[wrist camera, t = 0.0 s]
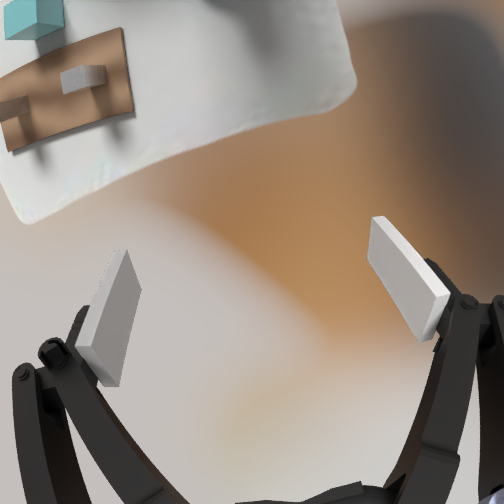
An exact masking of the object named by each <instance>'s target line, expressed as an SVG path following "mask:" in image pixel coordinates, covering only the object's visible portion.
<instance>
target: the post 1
mask: <svg viewBox="0 0 504 504" xmlns="http://www.w3.org/2000/svg"><path fill="white" fill-rule="evenodd" d="M27 112H30V108H29V103H28V98H27V95H25V96H21V97H18V98H14V99H11V100H7V101H4V102H0V124H1V123H3V122H6V121H8V120H11V119H13V118H16V117H19V116H21V115H23V114H25V113H27Z"/></svg>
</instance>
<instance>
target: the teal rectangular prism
mask: <svg viewBox="0 0 504 504" xmlns="http://www.w3.org/2000/svg"><path fill="white" fill-rule="evenodd" d="M62 27H64V16H63V1H62V0H14V1H12V2H10V3H9V4H7V5H6V6H4V29H5V40H36V39H38V38H40V37H43V36H45V35H47V34H49V33H51V32H53V31H56V30H58V29H60V28H62Z"/></svg>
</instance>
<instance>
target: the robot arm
mask: <svg viewBox="0 0 504 504" xmlns="http://www.w3.org/2000/svg"><path fill="white" fill-rule="evenodd" d="M367 260H368V262H369V263H370V265H371V266H372V268H373V269H374V271H375V272H376V273H377V275H378V277H379V278H380V280H381V282H382V283H383V285H384V286H385V288H386V289H387V291H388V293H389V294H390V296H391V297H392V299H393V301H394V302H395V304H396V306H397V307H398V309H399V310H400V312H401V314H402V315H403V317H404V319H405V320H406V322H407V324H408V326H409V327H410V329H411V330H412V332H413V334H414V336H415V338H416V339H417V341H418V343H421V342H424V341H427V340H431V339H432V338H433V336H434V334H435V331H436V330H437V332H438V333H439V335H440V337H439V339H438V341H437V343H436V345H435V348H434V350H433V352H435V354H434V358H433V362H432V365H431V369H430V373H429V376H428V379H427V383H426V386H425V390H424V393H423V396H422V399H421V402H420V405H419V408H418V411H417V414H416V417H415V419H414V422H413V425H412V427H411V430H410V432H409V435H408V438H407V440H406V443H405V445H404V448H403V450H402V452H401V454H400V457H399V459H398V461H397V464H396V466H395V468H394V469H393V471H392V473H391V474H390V476H389V477H388V479H387V480H386V482H385V484H384V486H383V488H382V487H377V486H367V485H362V483H361V481H359V482H355V483H352V484H348V485H344V486H340V487H336V488H332V489H330V490H327V491H325V492H323V493H321V494H319V495H317V496H314V497H312V498H310V499H308V500H305V501H303V502H284V501H272V500H262V501H254V502H242V503H235V504H445V503H446V500H447V498H448V496H449V493H450V490H451V487H452V484H453V482H454V479H455V476H456V473H457V470H458V467H459V463H460V455H458V454H457V451H458V446H459V442H460V439H461V436H462V432H463V428H464V424H465V419H466V415H467V410H468V406H469V401H470V396H471V391H472V385H473V378H474V373H475V366H476V368H477V378H478V390H479V406H480V463H479V482H478V495H479V503H478V504H504V296H503V295H497V296H495V297H494V299H493V301H492V303H491V304H482V303H479V302H478V300H476V299H475V298H474V297H473V296H470V295H467V294H461V292H460V291H459V290H458V289H457V288H456V286H455V285H454V284H453V283H452V282H451V280H450V279H449V278H448V277H447V275H446V274H445V273H444V272H442V269H441V268H439V266H438V265H437V264H436V263H435V262H433V261H432V260H430V259H429V258H427V259H422V258H421V256H420V255H419V254H418V253H417V252H416V251H415V249H414V248H413V247H412V246H411V245H410V244H409V243H408V242H407V240H406V239H405V238H404V237H403V236H402V235H401V234H400V233H399V232H398V230H396V228H395V227H394V226H393V225H392V224H391V223H390V222H389V221H388V220H387V219H386V218H385V217H384V216H378V217H372V220H371V230H370V238H369V247H368V254H367ZM141 290H142V289H141V287H140V284H139V281H138V279H137V276H136V273H135V271H134V268H133V265H132V262H131V260H130V257H129V254H128V251H127V250H119V251H114V253H113V255H112V257H111V259H110V261H109V263H108V266H107V268H106V270H105V272H104V274H103V277H102V279H101V281H100V284H99V286H98V288H97V291H96V293H95V295H94V298H93V300H92V303H91V305H86V306H83V307H82V308H81V310H80V311H79V312H78V313H77V315H76V318H75V320H74V323H73V325H72V327H71V330H70V332H69V335H68V338H67V340H66V342H65V343H64V342H63V341H62V340H61V339H60V338H57V337H55V338H51V339H49V340H46V341H45V342H44V343H43V344H42V345H41V347H40V348H39V351H38V357H39V359H40V360H41V362H43V364H44V365H45V367H42V368H38V369H35V368H34V367H33V365H31V364H30V363H23V364H21V365H20V366H18V367H17V368H16V369H15V371H14V373H13V376H12V399H13V417H14V429H15V438H16V447H17V454H18V461H19V467H20V472H21V478H22V483H23V488H24V493H25V497H26V501H27V504H92V503H91V500H90V497H89V495H88V492H87V489H86V486H85V483H84V480H83V477H82V473H81V470H80V467H79V464H78V460H77V457H76V453H75V449H74V446H73V442H72V438H71V434H70V429H69V425H68V420H67V416H66V411H65V408H66V410H67V412H68V414H69V416H70V418H71V420H72V422H73V424H74V426H75V427H76V429H77V431H78V433H79V435H80V436H81V438H82V440H83V442H84V443H85V445H86V447H87V449H88V450H89V452H90V454H91V455H92V457H93V458H94V460H95V462H96V463H97V465H98V466H99V468H100V469H101V471H102V473H103V474H104V476H105V477H106V479H107V480H108V482H109V483H110V484H111V486H112V487H113V489H114V490H115V491H116V493H117V494H118V496H119V497H120V498H121V500H122V501H123V502H124V504H190V503H189V502H188V501H187V500H185V499H184V498H183V496H182V495H181V494H180V493H179V492H178V491H177V490H176V489H175V488H174V487H173V486H172V485H171V484H170V483H169V481H168V480H167V479H166V478H165V477H164V476H163V475H162V474H161V473H160V471H159V470H158V469H157V468H156V467H155V465H153V463H152V462H151V461H150V460H149V458H148V457H147V456H146V455H145V453H144V452H143V451H142V450H141V448H140V447H139V446H138V445H137V444H136V442H135V441H134V439H133V438H132V437H131V435H130V434H129V433H128V431H127V430H126V429H125V428H124V426H123V425H122V423H121V422H120V420H119V419H118V418H117V416H116V415H115V413H114V412H113V410H112V409H111V407H110V406H109V404H108V403H107V401H106V400H105V398H104V397H103V395H102V394H101V392H100V391H99V389H98V388H97V387H96V386H97V382H98V380H99V381H100V382H101V384H102V385H103V386H104V387H119V384H120V379H121V373H122V369H123V364H124V359H125V355H126V350H127V346H128V342H129V337H130V333H131V329H132V325H133V321H134V317H135V313H136V309H137V305H138V301H139V297H140V293H141Z"/></svg>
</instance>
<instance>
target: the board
mask: <svg viewBox="0 0 504 504" xmlns="http://www.w3.org/2000/svg"><path fill="white" fill-rule="evenodd" d="M80 65H105V70H106V76H107V82H108V83H106V84H103V85H99V86H96V87H93V88H90V89H85V90H80V91H76V92H72V93H67V94H63V90H62V84H61V78H60V73H61V72H64V71H67V70H69V69H72V68H74V67H77V66H80ZM25 95H27V98H28V103H29V108H30V112H27V113H25V114H23V115H21V116H19V117H16V118H13V119H11V120H8V121H6V122H3V123H1V126H2V130H3V135H4V139H5V143H6V147H7V150H8V152H10V151H13V150H15V149H17V148H20V147H22V146H25V145H27V144H30V143H32V142H35V141H37V140H40V139H43V138H45V137H48V136H51V135H54V134H57V133H59V132H62V131H65V130H68V129H71V128H74V127H77V126H81V125H84V124H87V123H90V122H94V121H97V120H101V119H104V118H108V117H112V116H115V115H119V114H123V113H127V112H131V111H134V106H133V100H132V94H131V88H130V82H129V75H128V69H127V62H126V55H125V47H124V39H123V31H122V28H120V27H119V28H116V29H113V30H109V31H106V32H103V33H100V34H97V35H94V36H92V37H89V38H86V39H83V40H81V41H78V42H75V43H73V44H70V45H68V46H65V47H63V48H60V49H58V50H56V51H53V52H51V53H49V54H47V55H44V56H42V57H40V58H38V59H36V60H34V61H32V62H30V63H28V64H26V65H24V66H22V67H20V68H18V69H16V70H14V71H12V72H11V73H9V74H7V75H5V76H3V77H2V78H0V102H4V101H7V100H11V99H14V98H18V97H21V96H25Z"/></svg>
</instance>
